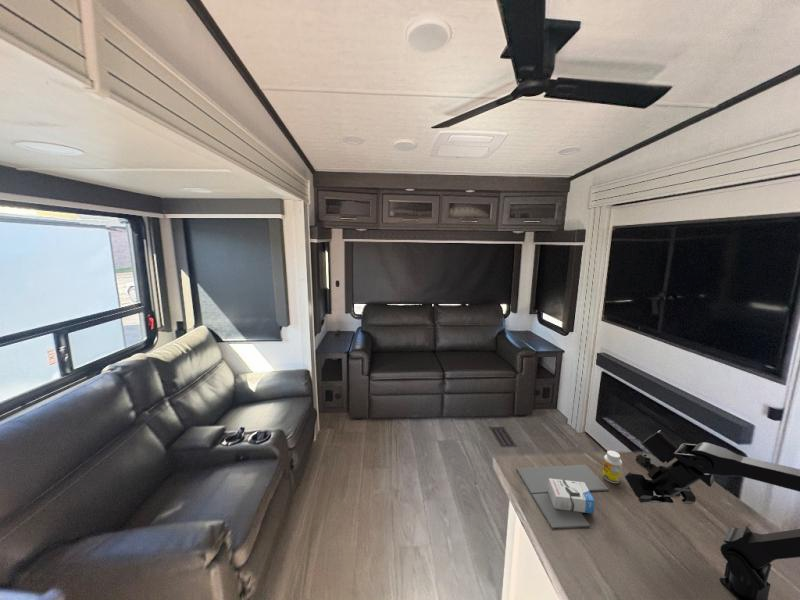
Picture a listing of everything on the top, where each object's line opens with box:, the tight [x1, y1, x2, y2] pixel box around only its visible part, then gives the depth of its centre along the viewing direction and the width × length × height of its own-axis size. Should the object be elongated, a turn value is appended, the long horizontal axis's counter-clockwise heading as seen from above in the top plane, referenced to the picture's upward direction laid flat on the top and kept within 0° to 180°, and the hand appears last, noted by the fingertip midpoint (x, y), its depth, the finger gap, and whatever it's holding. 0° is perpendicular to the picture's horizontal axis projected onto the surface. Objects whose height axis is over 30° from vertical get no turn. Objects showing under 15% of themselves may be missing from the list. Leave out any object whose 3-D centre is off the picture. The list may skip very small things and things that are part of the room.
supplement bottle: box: [602, 450, 623, 484], centre depth 113 cm, size 6×6×10 cm
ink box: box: [548, 478, 595, 514], centre depth 103 cm, size 8×5×12 cm
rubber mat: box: [516, 464, 610, 530], centre depth 107 cm, size 26×28×1 cm
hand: (640, 500), depth 93 cm, fingers closed
